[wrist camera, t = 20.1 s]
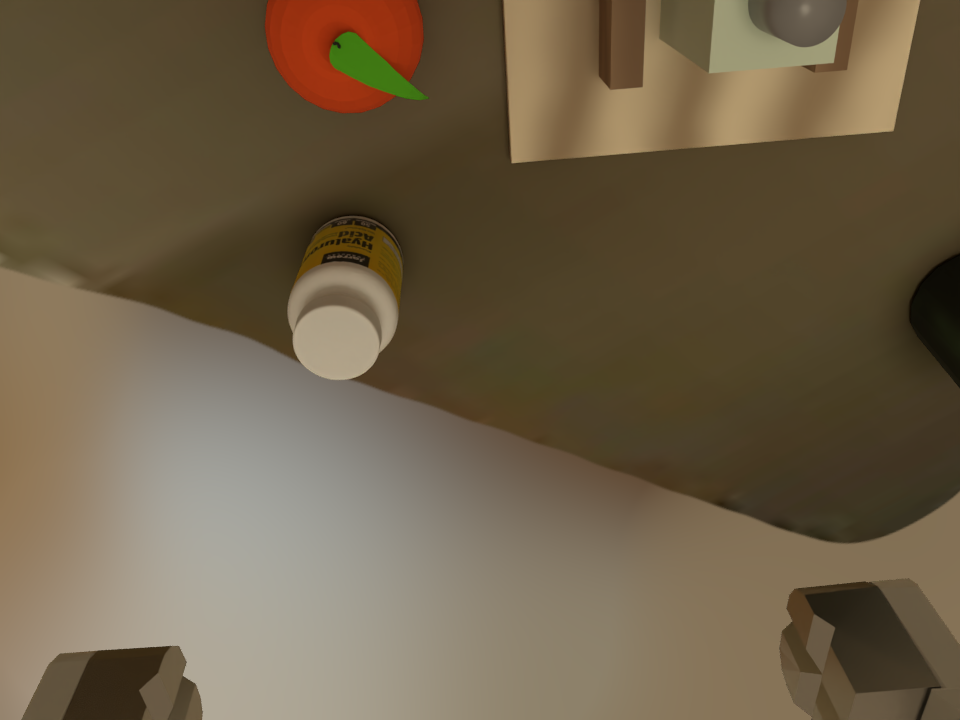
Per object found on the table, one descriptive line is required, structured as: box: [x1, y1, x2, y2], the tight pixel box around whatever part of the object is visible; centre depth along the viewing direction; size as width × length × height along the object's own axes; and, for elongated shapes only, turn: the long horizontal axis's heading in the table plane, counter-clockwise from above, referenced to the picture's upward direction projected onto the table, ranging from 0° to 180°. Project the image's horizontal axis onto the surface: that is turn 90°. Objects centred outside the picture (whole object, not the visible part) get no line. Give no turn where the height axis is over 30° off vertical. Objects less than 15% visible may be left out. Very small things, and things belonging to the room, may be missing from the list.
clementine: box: [265, 0, 429, 113], centre depth 35 cm, size 8×7×7 cm
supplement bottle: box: [288, 216, 403, 380], centre depth 40 cm, size 5×5×10 cm
